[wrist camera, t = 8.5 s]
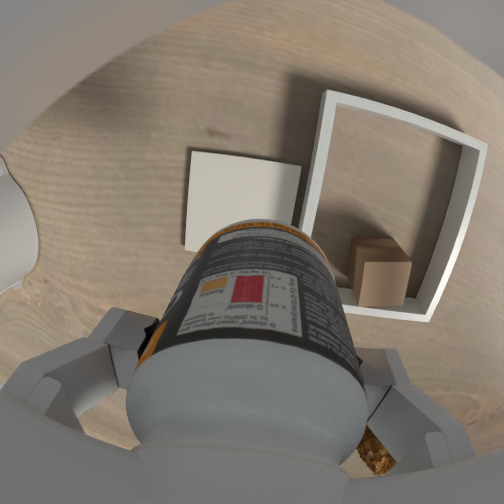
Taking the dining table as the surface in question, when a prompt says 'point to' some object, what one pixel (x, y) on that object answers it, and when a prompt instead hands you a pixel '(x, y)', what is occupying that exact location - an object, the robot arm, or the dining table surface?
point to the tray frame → (455, 214)
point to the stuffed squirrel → (375, 453)
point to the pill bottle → (249, 377)
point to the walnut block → (378, 272)
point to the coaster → (236, 193)
